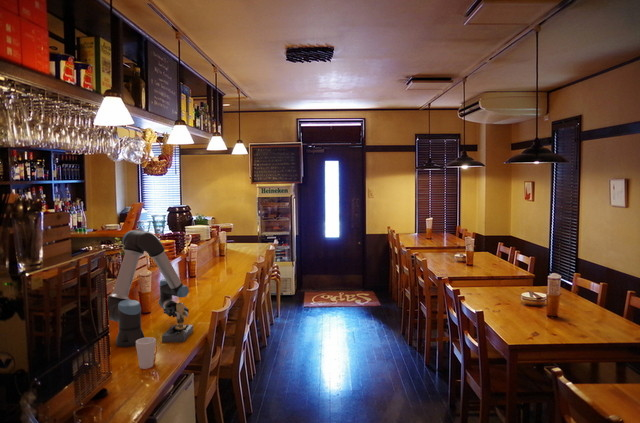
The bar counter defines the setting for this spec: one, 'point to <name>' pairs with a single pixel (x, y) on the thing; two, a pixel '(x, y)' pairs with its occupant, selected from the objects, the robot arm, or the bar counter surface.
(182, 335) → the keyhole plate
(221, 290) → the bar counter surface
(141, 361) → the foam cup
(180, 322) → the brass post
